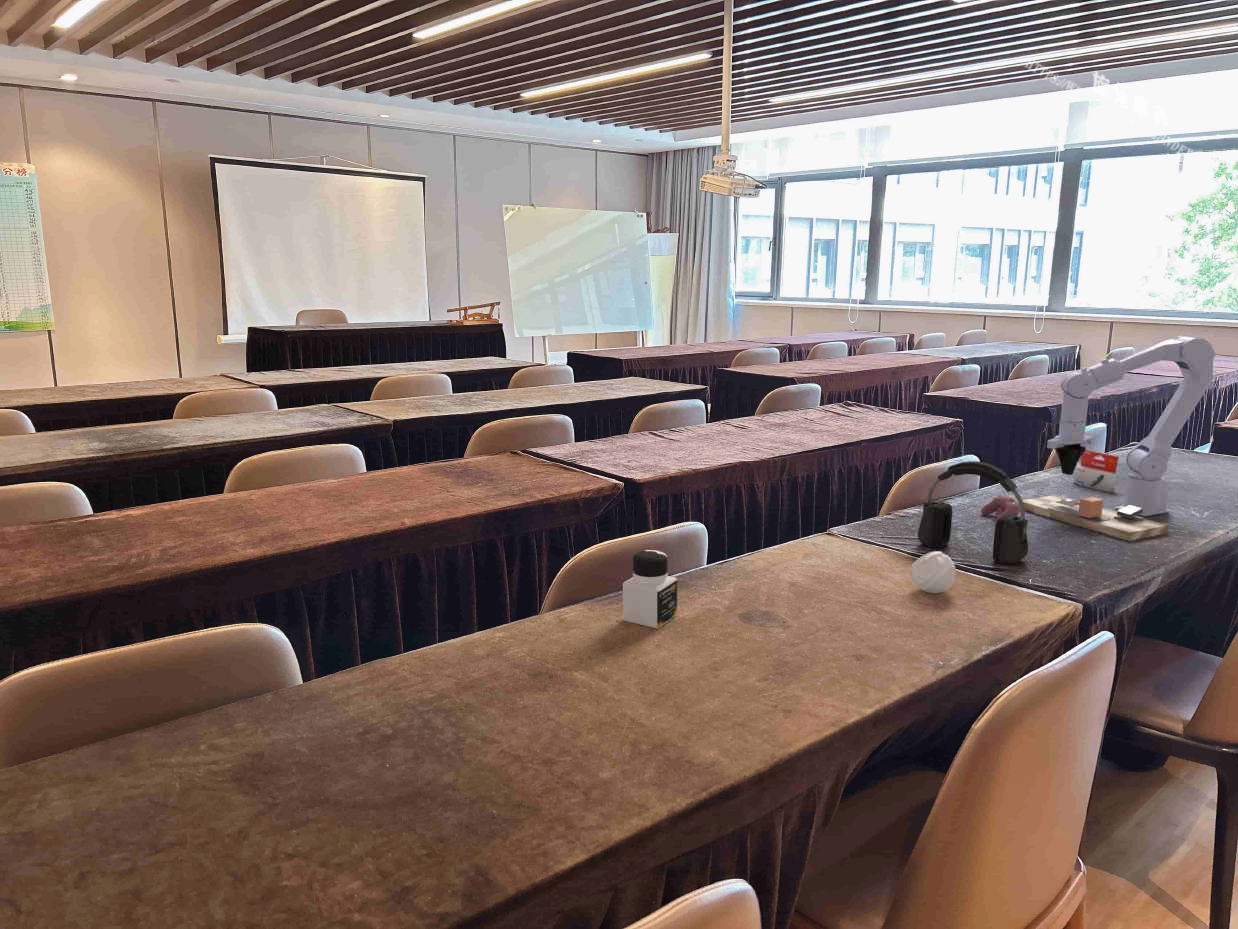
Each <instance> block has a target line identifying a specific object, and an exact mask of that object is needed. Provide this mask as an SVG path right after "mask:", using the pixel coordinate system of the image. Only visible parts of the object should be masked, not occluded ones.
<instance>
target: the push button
mask: <svg viewBox="0 0 1238 929" xmlns="http://www.w3.org/2000/svg"><path fill="white" fill-rule="evenodd" d="M1078 501H1079V500H1078V499H1074V498H1068V497H1064V498H1062V499H1061V503H1060V504H1064V505H1067V506H1077V505H1078Z"/></svg>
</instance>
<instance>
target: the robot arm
mask: <svg viewBox="0 0 1238 929" xmlns="http://www.w3.org/2000/svg"><path fill="white" fill-rule="evenodd" d="M1215 357H1216V352H1215V350H1214V348H1213V346H1212V344H1211V343H1210V341H1208V340H1207V339H1206V338H1201V337H1191V336H1188V335H1179V336H1176V337H1174V338H1171V339H1166V340H1164V341H1161V342H1159V343H1157V344H1155V345H1153V346H1151V347H1147V348H1145V349H1143V350H1141V351H1139V352H1137V353H1134V354H1132V355H1130V356H1127V357H1126V358H1123V359H1121V360H1117V359H1115V358H1110V359H1108V358H1103V359H1101V360H1100V363H1097V364H1095V365H1091V366H1090V367H1083V368H1082V367H1081V368H1080V372H1078V371H1077V372H1076V371H1075V372H1070V373H1068V374H1067V375H1065V377H1063V379H1062V381H1061V382H1060V387H1061V389H1062V392H1063V397H1062V402H1061V412H1060V419H1059V420H1060V421H1059V428H1058V429H1059V430H1058V435H1055V436H1054V438H1051V439H1048V440H1047V446H1046V448H1048V449H1052V450H1055V452H1056V454H1057V458H1058V459H1059V464H1060V470H1061V473H1062V474H1063V475H1067V476H1070V475H1074V474H1073V473H1074V472H1075V467H1076V466H1078V465H1077V464H1078V462H1079V461H1080V460H1081V456H1082V454H1083V453H1084V452H1085V450H1087V448H1086V446H1082V445H1086V444H1087V445H1088V444H1089V445H1093V444H1094V442H1095V436H1093V435H1088V434H1087V435H1086V425H1087V418H1088V417H1087V415H1088V407H1089V397H1090V395H1091V394H1092V393H1093V391H1096V390H1097V391H1098V390H1099V389H1102V388H1104V387H1108V386H1109V385H1112V384H1114V383H1117V382H1119V381H1122V380H1123V379H1124V376H1125V375H1126V374H1127V373H1129V372H1131V371H1134V370H1138V369H1140V368H1143V367H1146V366H1148V365H1152V364H1155V363H1157V362H1160V361H1163V362H1165V361H1166V362H1174V363H1175V364H1176V365H1177V366H1178V368H1179V369H1180V372H1181V374H1182V377H1183V380H1182V381H1181V382H1180V385H1178V388H1177V389H1176V391H1175V392H1174V394H1173V396H1172V397H1171V399H1170V400H1169V402H1168V403H1167V405H1166V407H1165V409H1164V410H1163V412H1162V414H1161V415H1160V417H1159V419H1158V420H1157V421H1156V423H1155V425H1154V426H1153V428H1152V429H1151V431H1150V433H1149V434H1148V435H1147V436H1146V437H1144V438H1143V439H1141V440H1140V441H1139V443H1138V444H1137V445H1136V446H1135V447H1134V448H1132V449H1131V450H1129V452H1128V453H1127V454H1126V457H1125V462H1126V465H1127V467H1128V468H1129V471H1127V472H1128V473H1127V478H1126V485H1125V492H1124V493H1125V494H1124V501H1123V505H1119V506H1115V507H1114V509H1116V510H1117V511H1118V510H1120V509H1122V508H1125V507H1127V506H1129V505H1131V506H1135V507H1139V508H1143V513H1141V514H1139V515H1138V516H1140V517H1149V516H1153V515H1154V516H1155V515H1160V514H1165V513H1169V512H1170V510H1169V509H1167V504H1168V497H1169V496H1168V495H1169V489H1170V486H1169V482H1168V480H1167V479H1166V478H1165V477H1163V475H1164V474H1165V473H1166V472H1167V470H1168V469H1167V468H1168V463H1169V462H1168V461H1169V459H1170V458H1171V456H1172V444H1173V443H1175V440H1176V438H1177V436H1178V435H1179V433H1180V432H1181V430H1182V429H1183V428H1184V426H1185V424H1186V423H1187V421H1188V419H1189V418H1190V416H1191V415H1192V413H1193V411H1194V410H1195V408H1196V407H1197V405H1198V404H1199V402H1200V400H1201V399H1202V397H1203V395H1204V394H1205V392H1206V391H1207V390H1208V388H1209V386H1210V385H1211V383H1212V381H1213V378H1214V375H1213V374H1214V358H1215Z"/></svg>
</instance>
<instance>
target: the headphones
mask: <svg viewBox="0 0 1238 929" xmlns="http://www.w3.org/2000/svg"><path fill="white" fill-rule="evenodd" d="M947 468H948V469H947V470H946V471H944V472H943V473H942V472H941V474H940V475H938V476H937V479H936V480H935V481H934V482H933V483H932V484H931V486H930V488H929V490H928V492H927V496H926V501H925V502H923V508H922V516H921V519H920V522H919V526H918V531H917V538H918V540H919V542H920V543H921V544H922V545H924V546H927V547H928V548H931V547H934V548H935V549H940V548H942V547H945V546H946V545H948V543H950V539H951V535H952V534H951V532H952V531H951V530H952V522H953V507H952V505H951V504H950V503H949V502H948V503H947V502H943V501H940V502H939V501H932V496H933V492H934V490H935V488H936V486H937V485H938V484H939V483H940V482H941V481H946V480H948V479H949V478H951V477H953V475H954V476H963V475H973V476H974V475H975V476H980V477H983V478H985V479H988V480H990V481H991V482H996V483H997V482H998V483H999V485H1001V487H1002V488H1003V489H1004V490H1005V491H1006V492H1007V493H1009V492H1011V493H1012V494H1013V495H1014V497H1015V500H1016V501H1017V503H1019V506H1020V512H1019V514H1020V516H1018V515H1017V516H1015V515H1005V516H1003V517H1001V518H999V519H998V520H997V522H996V521H995V525H994V533H993V534H994V535H993V544H992V546H993V547H992V559H993V561H995V562H997V563H1000V564H1003V565H1004V564H1007V565H1013V564H1017V563H1019V562H1020V561H1022V560H1023V559H1025V557H1026V556H1027V555H1028V553H1029V542H1028V534H1027V531H1028V530H1027V529H1028V519H1026V511H1025V508H1024V503H1023V501H1022V500H1023V499H1022V497H1021V495H1020V493H1019V492H1018V490H1017V488H1018V486H1017V484H1016V483H1015V482H1014V481H1013V480H1012V479H1011V478H1010V477H1009V476H1008V473H1006V472H1005V471H1003V470H1002V469H1000V468H999V467H997V466H995V465H993V464H990V463H986V462H983V461H976V460H973V461H972V460H970V461H969V460H968V461H963V462H962V461H961V462H959V463H955V464H953V465H950V466H948V467H947Z"/></svg>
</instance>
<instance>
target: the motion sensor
mask: <svg viewBox="0 0 1238 929" xmlns="http://www.w3.org/2000/svg"><path fill="white" fill-rule="evenodd" d="M910 575H911V579H912V582H913V583H914V584H915V585H916V587H917V588H919V590H920V589H921V591H923V592H926V593H929V594H939V593H943V592H945V591H946V592H947V590H948V589H949V588H950V587H951V586H952V584H954V581H955V577H956V566H955V563H954V562H953V560H952V559H951V557H950V556H949V555H948V554H944V552H942V551H941V550H940V551H930V552H928V553H925V554H924V555H921V556H920V557H918V559H916V560H915V561H914V562H913V563H912V565H911V567H910Z"/></svg>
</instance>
